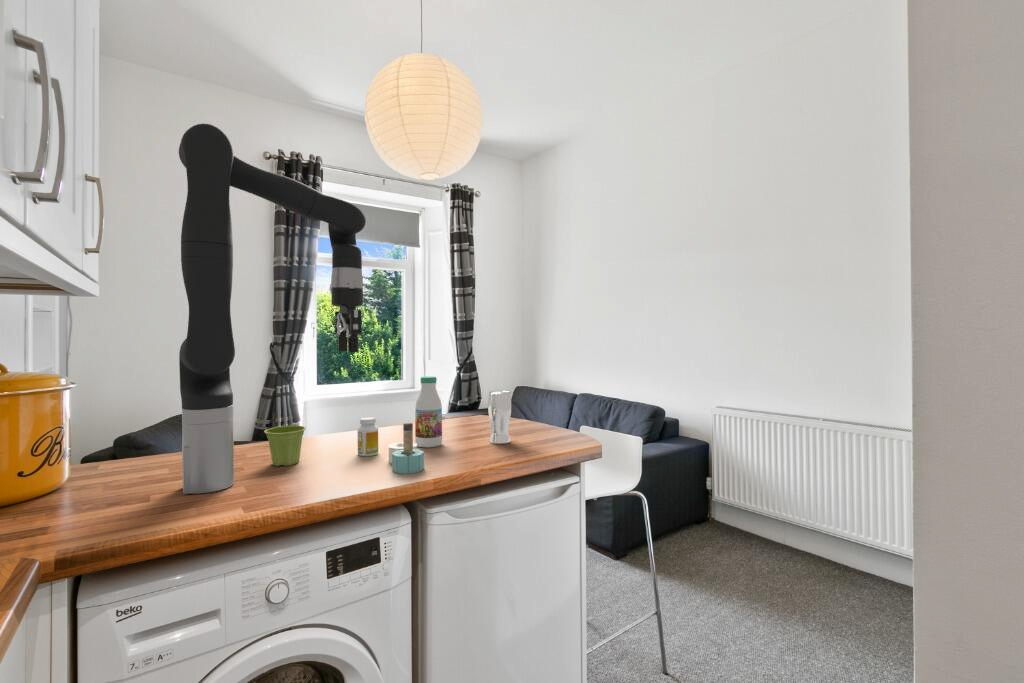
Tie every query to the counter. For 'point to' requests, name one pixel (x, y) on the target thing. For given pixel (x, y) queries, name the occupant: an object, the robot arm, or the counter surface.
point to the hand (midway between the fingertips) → (347, 351)
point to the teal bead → (407, 461)
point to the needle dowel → (408, 438)
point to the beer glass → (499, 416)
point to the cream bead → (397, 447)
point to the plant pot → (285, 444)
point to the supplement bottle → (367, 437)
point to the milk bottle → (428, 415)
